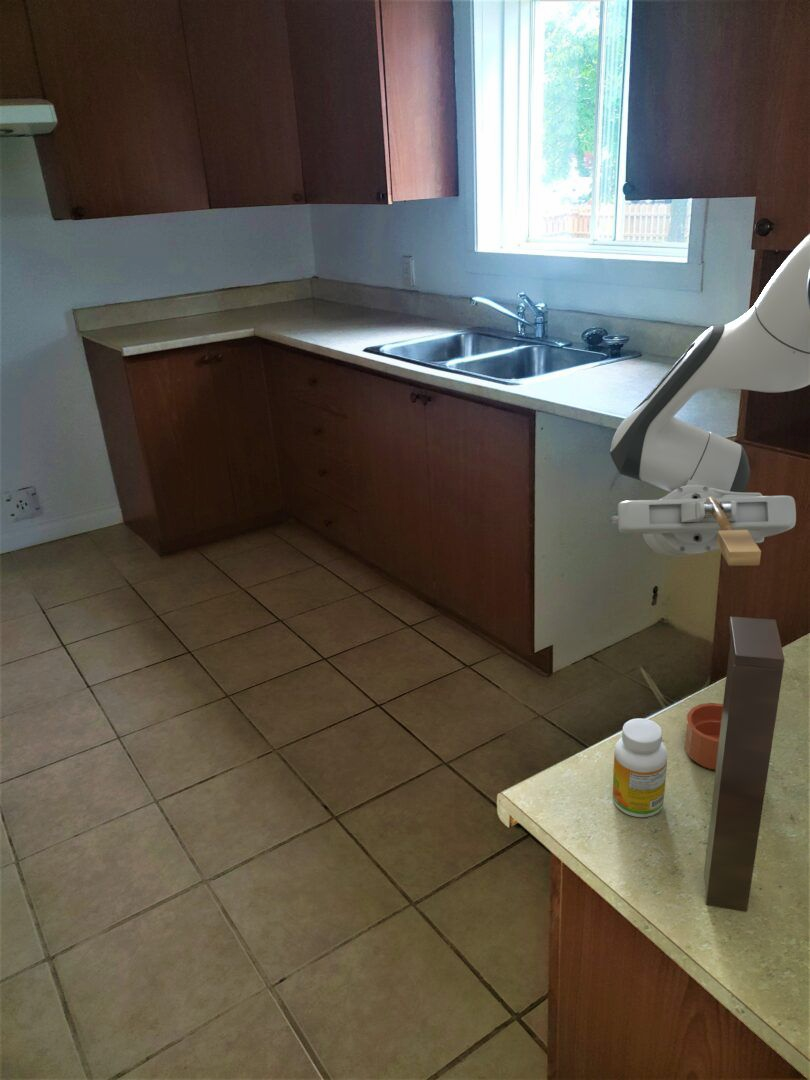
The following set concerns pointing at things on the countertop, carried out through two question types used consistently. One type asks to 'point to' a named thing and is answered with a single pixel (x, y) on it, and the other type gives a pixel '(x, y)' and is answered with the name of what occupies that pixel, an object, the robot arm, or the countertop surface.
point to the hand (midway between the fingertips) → (718, 508)
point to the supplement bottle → (640, 769)
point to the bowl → (703, 733)
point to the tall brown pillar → (742, 759)
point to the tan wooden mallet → (734, 541)
